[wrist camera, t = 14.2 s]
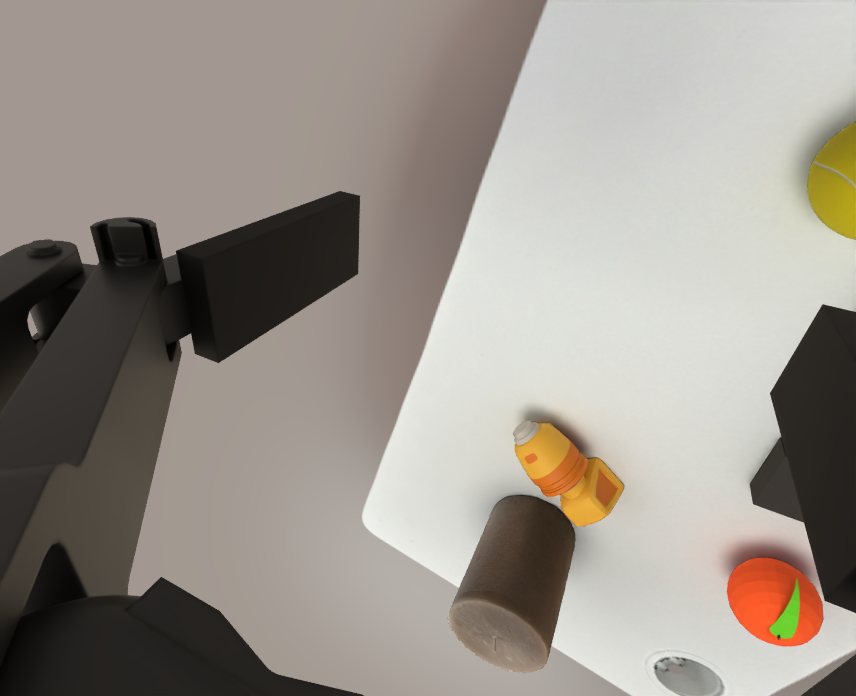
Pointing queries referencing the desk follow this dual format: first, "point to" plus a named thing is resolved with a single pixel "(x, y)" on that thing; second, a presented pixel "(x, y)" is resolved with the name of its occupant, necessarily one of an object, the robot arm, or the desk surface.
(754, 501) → the black u-shaped block
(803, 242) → the desk surface
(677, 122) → the desk surface
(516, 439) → the yellow toy drill
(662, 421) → the desk surface
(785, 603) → the clementine
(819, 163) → the tennis ball
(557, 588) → the pillar candle
